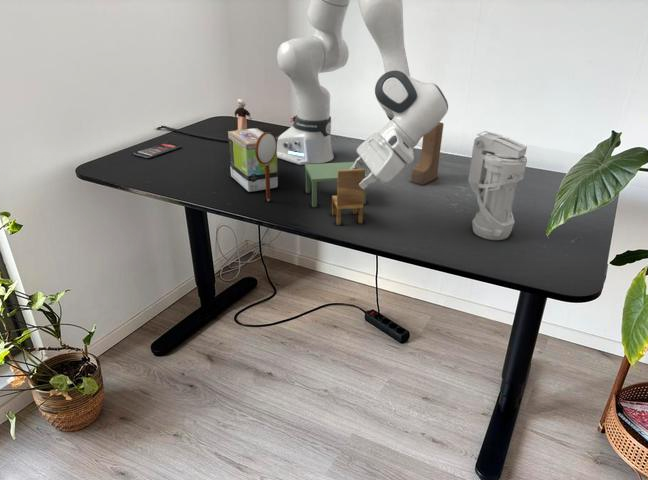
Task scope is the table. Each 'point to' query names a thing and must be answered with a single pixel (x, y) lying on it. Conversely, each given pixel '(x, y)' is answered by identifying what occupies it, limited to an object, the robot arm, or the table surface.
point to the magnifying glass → (266, 155)
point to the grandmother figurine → (242, 115)
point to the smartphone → (156, 150)
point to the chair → (349, 193)
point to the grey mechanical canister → (495, 183)
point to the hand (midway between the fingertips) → (355, 179)
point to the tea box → (249, 161)
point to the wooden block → (429, 156)
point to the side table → (325, 176)
